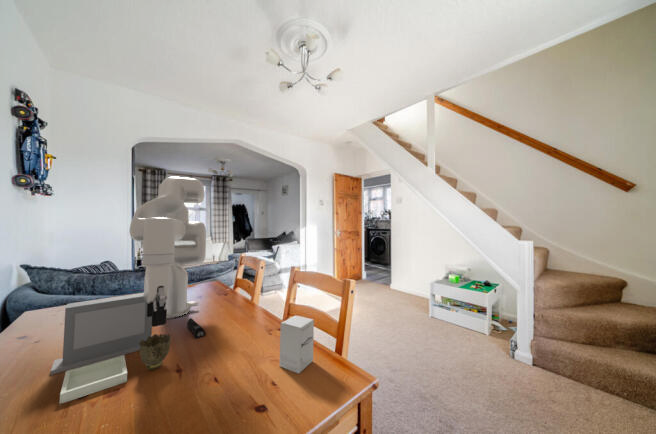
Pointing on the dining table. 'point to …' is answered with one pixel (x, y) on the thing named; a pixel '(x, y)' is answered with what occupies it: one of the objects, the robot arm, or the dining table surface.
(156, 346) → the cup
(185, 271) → the robot arm
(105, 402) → the dining table surface
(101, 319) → the grey sign holder
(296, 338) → the supplement box
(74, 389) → the parts tray
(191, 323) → the electric trimmer
